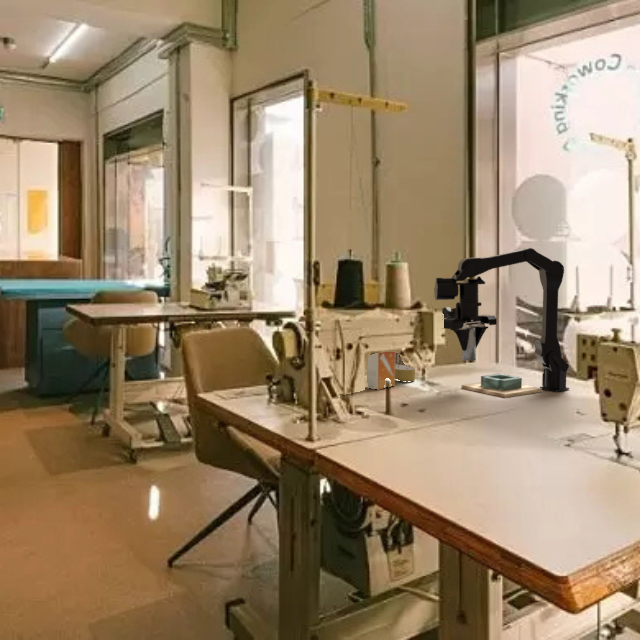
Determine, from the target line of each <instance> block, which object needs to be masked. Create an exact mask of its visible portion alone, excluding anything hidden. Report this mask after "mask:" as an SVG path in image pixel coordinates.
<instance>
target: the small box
mask: <svg viewBox="0 0 640 640" xmlns="http://www.w3.org/2000/svg"><path fill="white" fill-rule="evenodd" d="M386 378H389V379H390V380H391V384H392V386H394V387H395V381H396V380H395V352H383V353H375V354H372V355H370V356H369V358H368V370H367V383H368V387H369V388H371V390H375V389H377V391H379V390H384V389H383V388H384V385H385V379H386ZM369 388H368V389H369Z"/></svg>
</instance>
